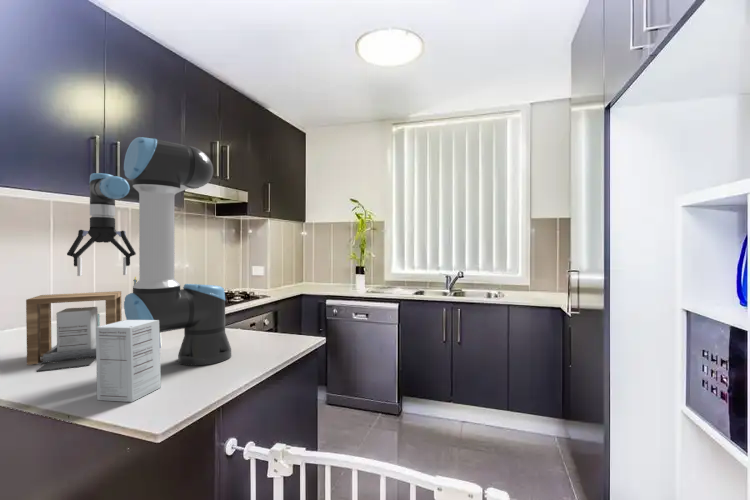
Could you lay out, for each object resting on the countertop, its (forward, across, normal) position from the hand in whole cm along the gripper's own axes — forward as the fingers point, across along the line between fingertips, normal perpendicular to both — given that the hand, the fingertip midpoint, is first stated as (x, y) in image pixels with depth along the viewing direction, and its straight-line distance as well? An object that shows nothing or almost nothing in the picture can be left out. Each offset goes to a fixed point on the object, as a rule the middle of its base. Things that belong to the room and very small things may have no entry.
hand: (102, 275), depth 137 cm
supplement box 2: (+23, -17, +62) cm, 68 cm away
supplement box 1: (+25, +4, +15) cm, 29 cm away
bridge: (+24, +4, +15) cm, 29 cm away
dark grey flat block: (+24, +4, +27) cm, 37 cm away
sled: (+24, +4, +9) cm, 26 cm away
